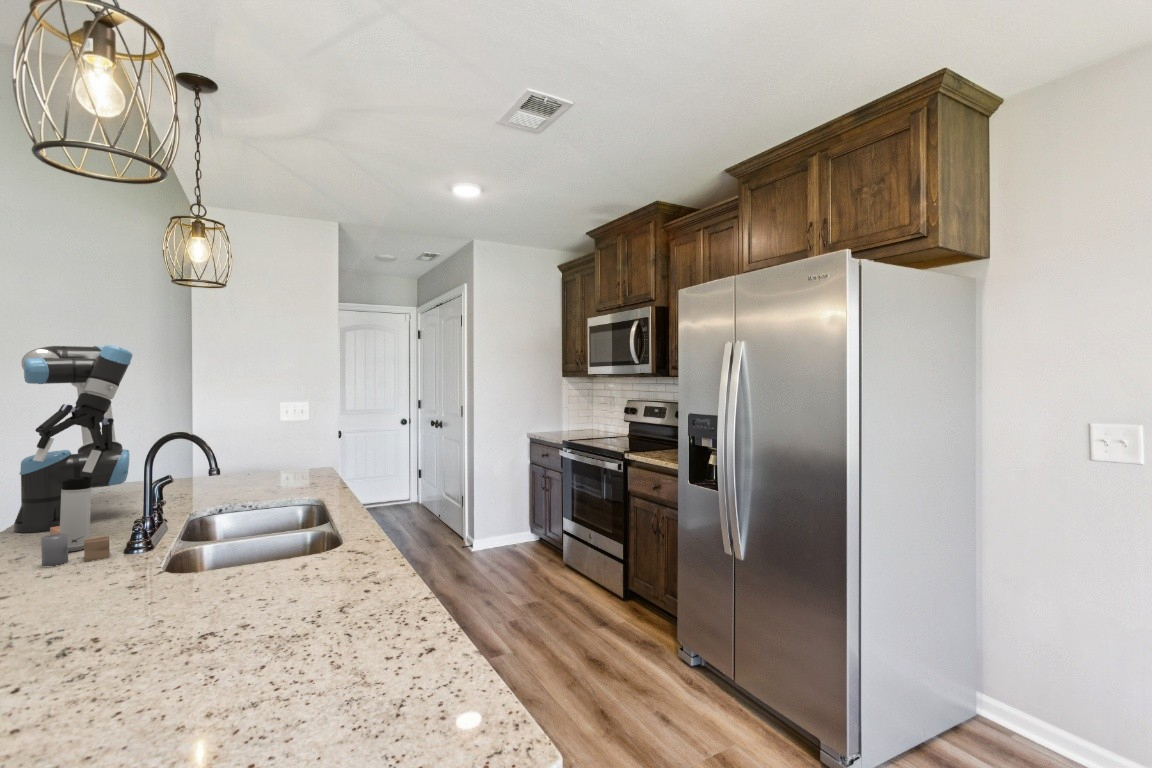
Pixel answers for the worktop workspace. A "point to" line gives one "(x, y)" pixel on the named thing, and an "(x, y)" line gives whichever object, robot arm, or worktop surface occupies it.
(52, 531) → the terracotta brick
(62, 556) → the grey cylinder
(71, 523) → the travel mug
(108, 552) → the walnut block
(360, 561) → the worktop surface
